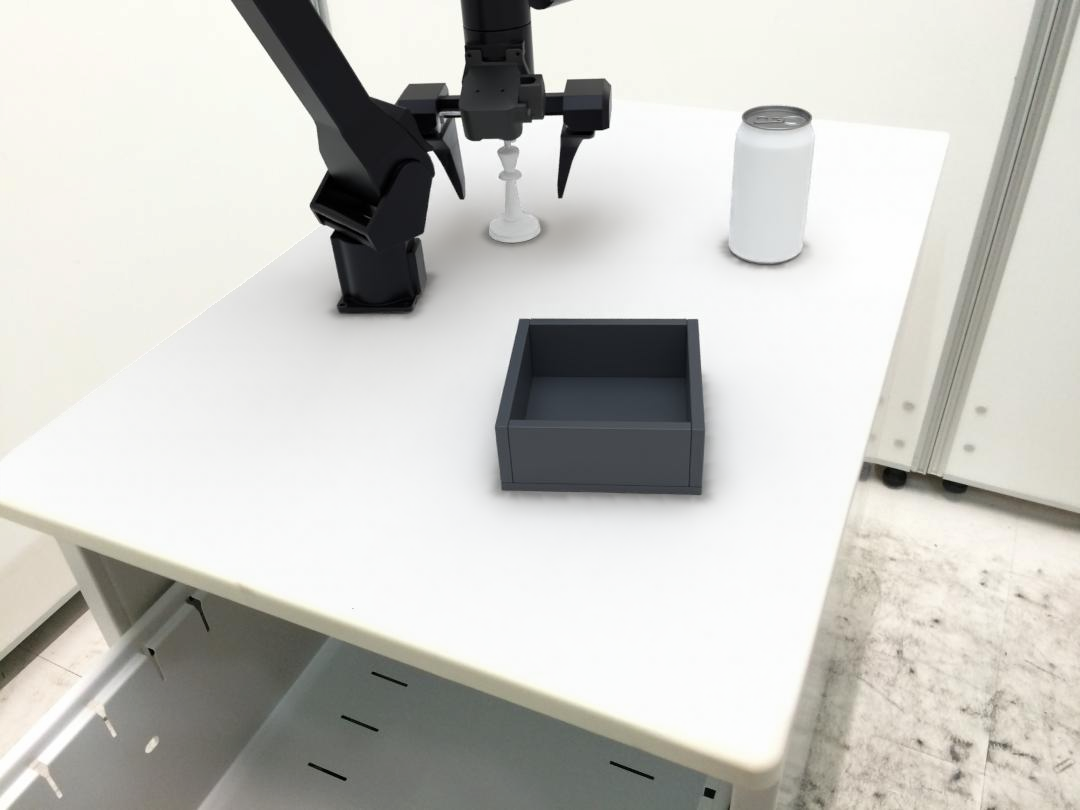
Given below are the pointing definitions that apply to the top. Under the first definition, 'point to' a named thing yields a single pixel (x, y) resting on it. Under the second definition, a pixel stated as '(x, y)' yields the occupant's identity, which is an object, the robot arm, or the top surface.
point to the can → (771, 183)
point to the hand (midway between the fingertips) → (511, 197)
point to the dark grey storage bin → (603, 407)
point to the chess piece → (512, 203)
